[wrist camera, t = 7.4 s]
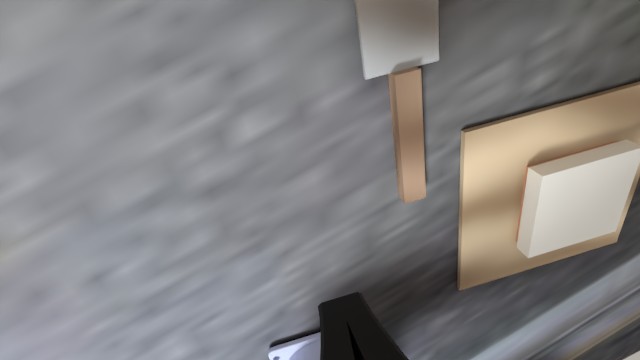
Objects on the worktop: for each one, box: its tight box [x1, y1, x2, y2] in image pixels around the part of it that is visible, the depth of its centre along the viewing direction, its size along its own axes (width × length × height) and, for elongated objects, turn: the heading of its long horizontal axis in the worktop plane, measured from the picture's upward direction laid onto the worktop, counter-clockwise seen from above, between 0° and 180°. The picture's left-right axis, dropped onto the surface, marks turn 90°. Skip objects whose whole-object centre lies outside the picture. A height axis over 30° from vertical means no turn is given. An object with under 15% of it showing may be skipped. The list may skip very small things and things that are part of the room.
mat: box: [457, 81, 640, 291], centre depth 24 cm, size 14×14×1 cm
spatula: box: [354, 0, 439, 204], centre depth 18 cm, size 13×4×1 cm, turn 12°
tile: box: [516, 140, 640, 258], centre depth 23 cm, size 7×2×7 cm
